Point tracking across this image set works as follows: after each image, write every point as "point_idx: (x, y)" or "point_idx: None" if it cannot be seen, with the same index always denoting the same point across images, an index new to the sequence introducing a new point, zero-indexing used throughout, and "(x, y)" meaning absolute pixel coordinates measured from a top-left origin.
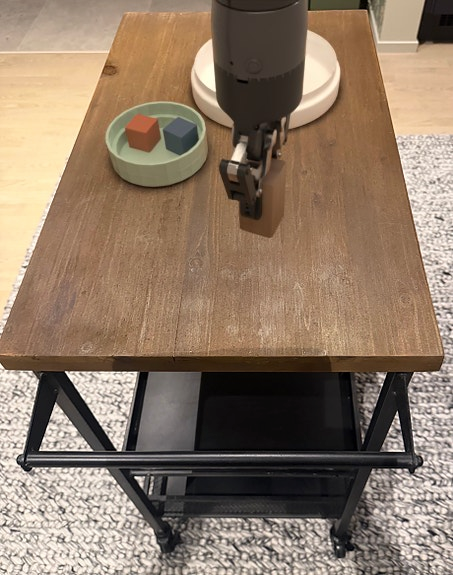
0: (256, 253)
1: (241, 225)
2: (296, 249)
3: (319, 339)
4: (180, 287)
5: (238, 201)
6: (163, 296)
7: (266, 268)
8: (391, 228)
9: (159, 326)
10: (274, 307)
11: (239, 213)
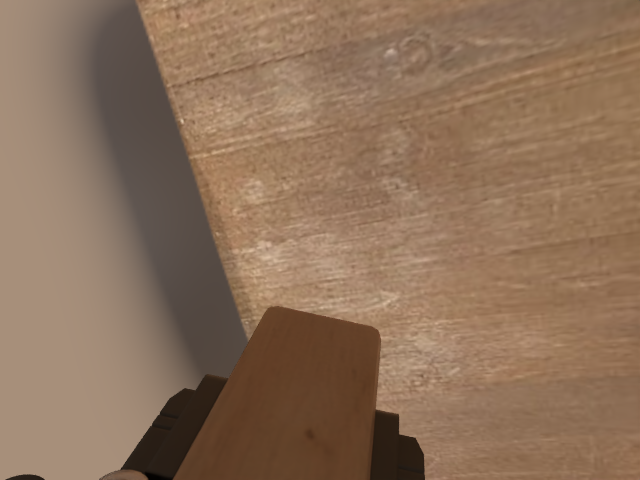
0: (469, 200)
1: (258, 324)
2: (493, 285)
3: None
4: (330, 40)
5: (226, 384)
6: (294, 5)
7: (426, 230)
8: (576, 457)
9: (214, 29)
10: (326, 261)
11: (247, 347)
